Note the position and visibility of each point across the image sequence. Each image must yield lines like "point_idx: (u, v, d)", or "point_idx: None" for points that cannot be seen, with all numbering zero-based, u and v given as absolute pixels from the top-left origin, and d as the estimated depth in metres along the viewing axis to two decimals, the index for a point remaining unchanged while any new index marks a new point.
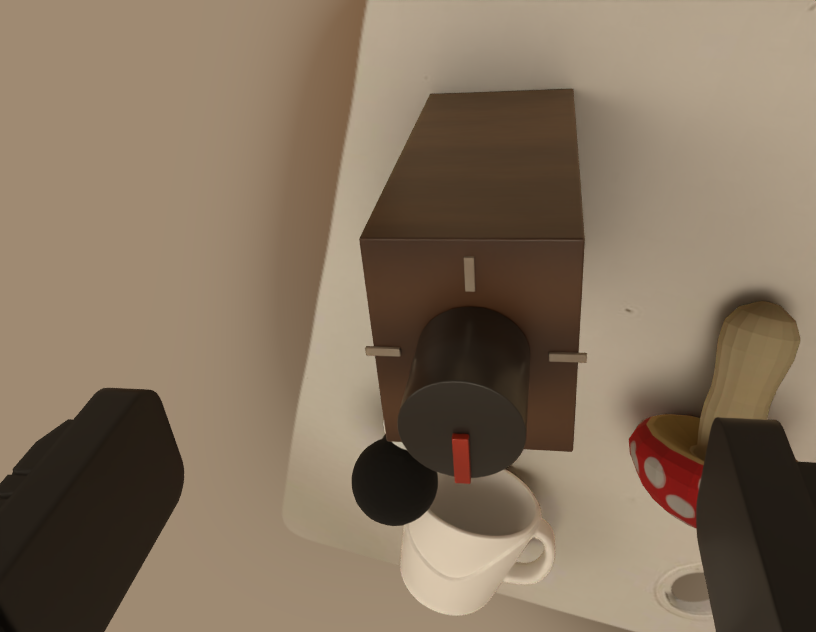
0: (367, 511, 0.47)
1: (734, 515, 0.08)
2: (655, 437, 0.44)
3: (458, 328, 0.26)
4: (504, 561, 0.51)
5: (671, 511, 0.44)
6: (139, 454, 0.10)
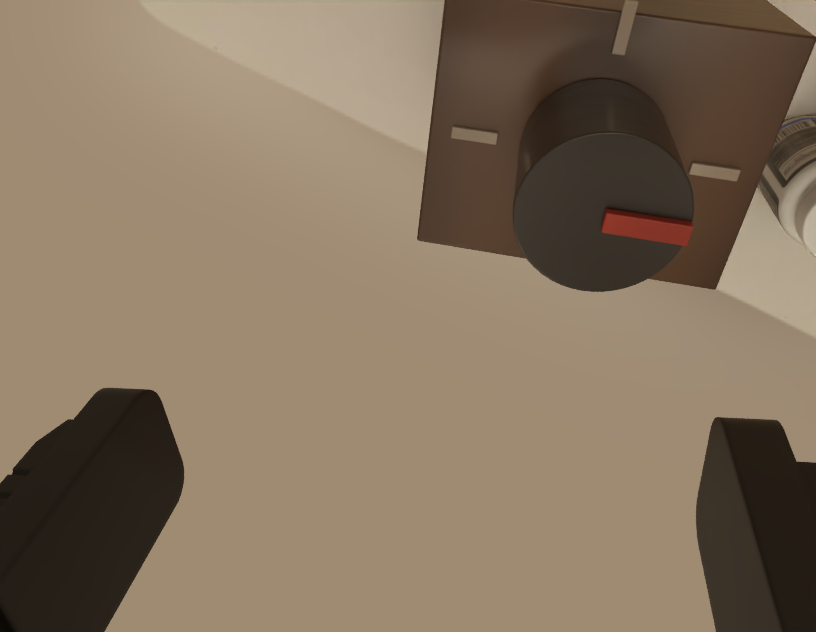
0: None
1: (734, 515, 0.08)
2: None
3: None
4: None
5: None
6: (139, 454, 0.10)
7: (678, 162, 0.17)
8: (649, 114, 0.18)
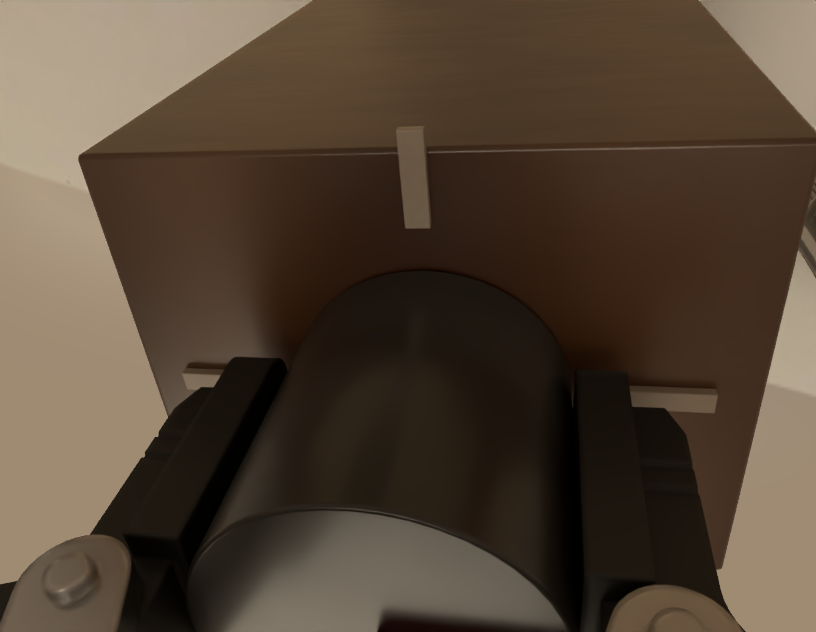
0: None
1: (577, 451, 0.09)
2: None
3: None
4: None
5: None
6: None
7: (502, 551, 0.07)
8: (468, 374, 0.08)
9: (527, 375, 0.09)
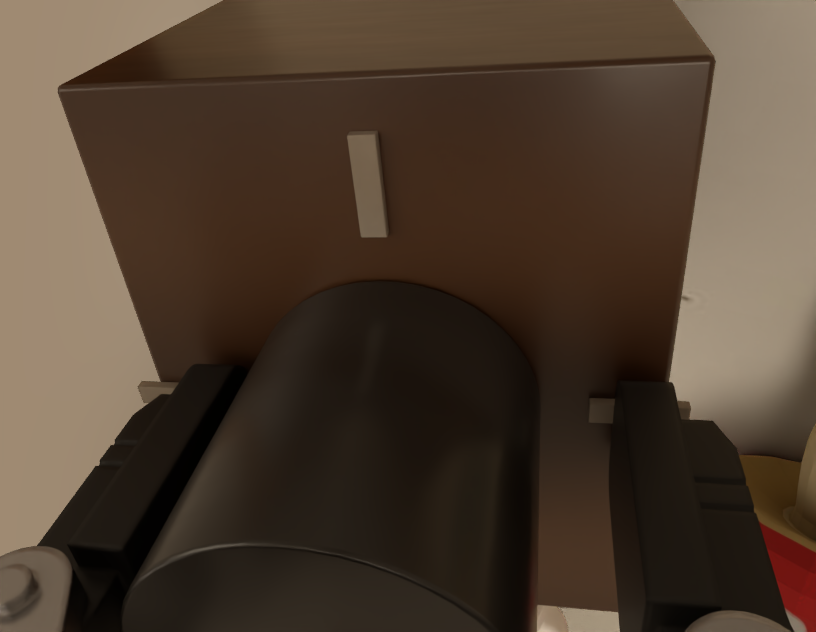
0: None
1: (623, 466, 0.09)
2: None
3: None
4: None
5: None
6: None
7: (441, 586, 0.06)
8: (416, 391, 0.08)
9: (482, 389, 0.09)
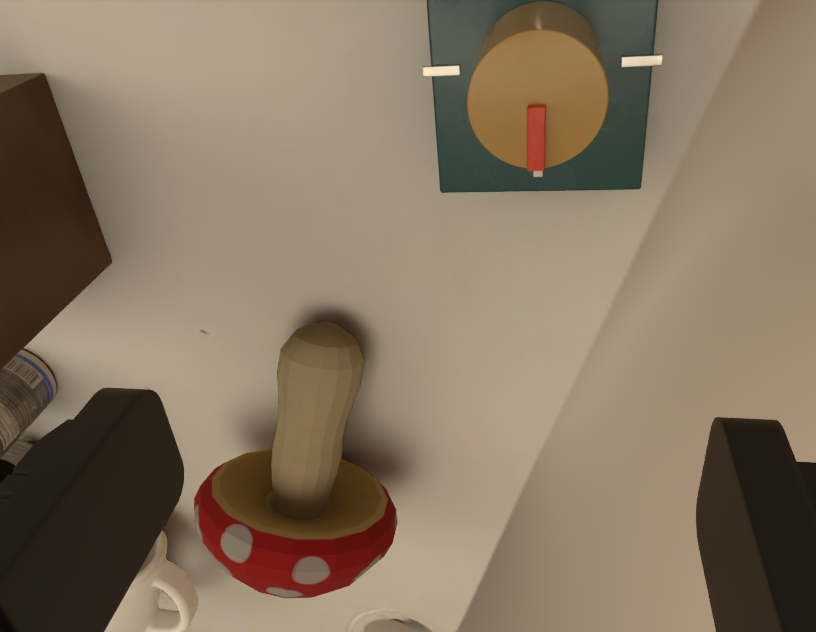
0: None
1: (734, 515, 0.08)
2: (211, 481, 0.38)
3: None
4: None
5: None
6: (139, 454, 0.10)
7: None
8: None
9: None
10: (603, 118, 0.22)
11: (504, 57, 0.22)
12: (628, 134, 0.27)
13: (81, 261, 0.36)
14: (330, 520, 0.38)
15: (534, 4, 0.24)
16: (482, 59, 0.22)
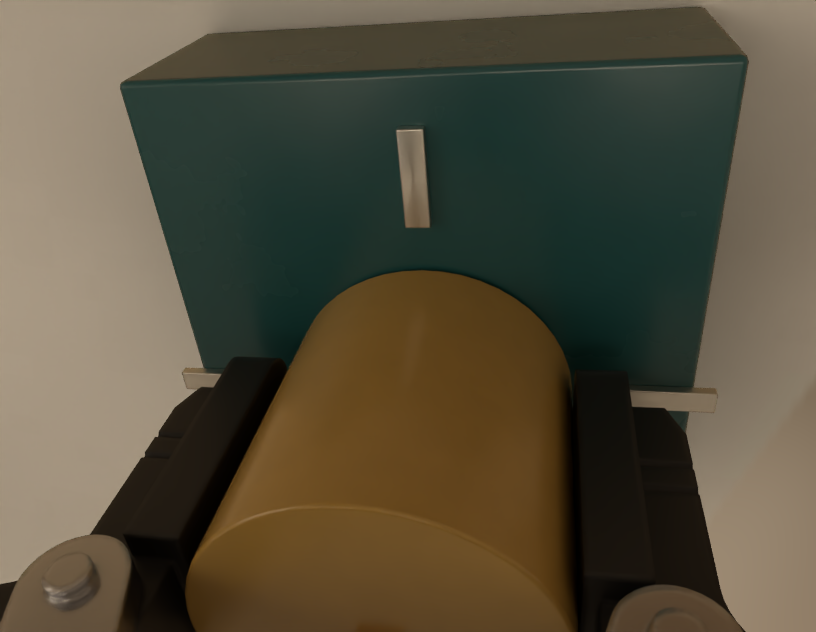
0: None
1: (576, 450, 0.09)
2: None
3: None
4: None
5: None
6: None
7: None
8: None
9: None
10: None
11: (265, 551, 0.07)
12: None
13: None
14: None
15: (404, 288, 0.10)
16: (206, 544, 0.07)
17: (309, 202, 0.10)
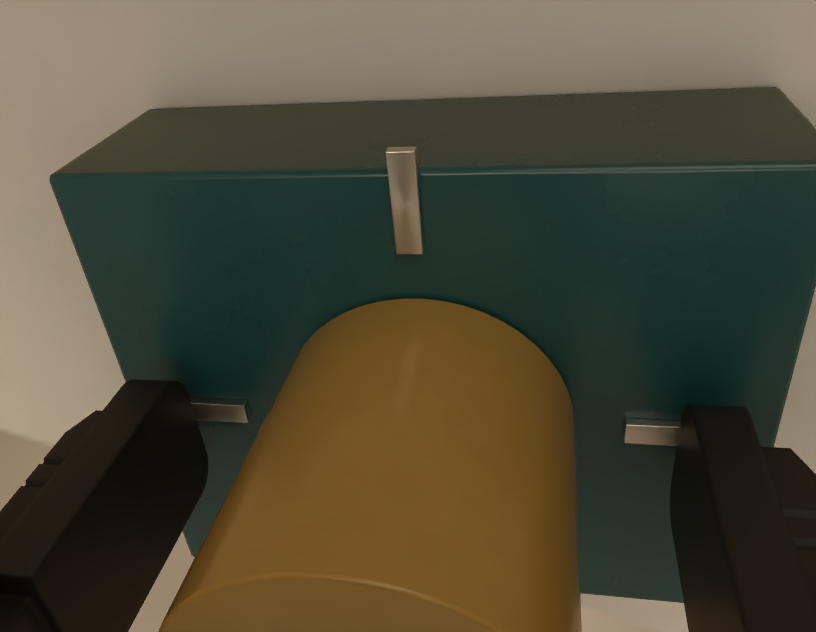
0: None
1: (700, 497, 0.08)
2: None
3: None
4: None
5: None
6: (167, 444, 0.10)
7: None
8: None
9: None
10: None
11: (229, 624, 0.07)
12: None
13: None
14: None
15: (382, 320, 0.09)
16: (168, 618, 0.07)
17: (658, 339, 0.09)
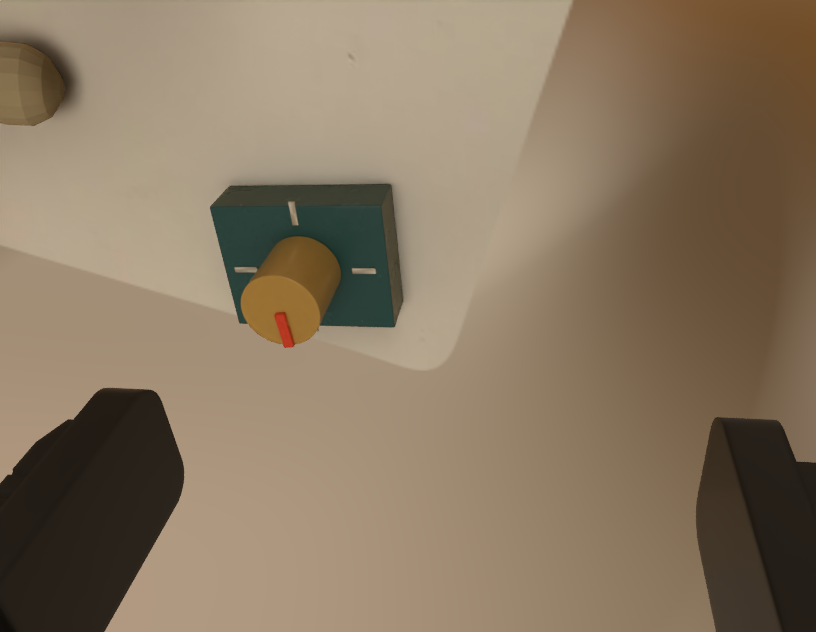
0: None
1: (733, 515, 0.08)
2: None
3: None
4: None
5: None
6: (139, 454, 0.10)
7: None
8: None
9: None
10: (319, 318, 0.38)
11: (255, 289, 0.37)
12: None
13: None
14: None
15: (289, 240, 0.40)
16: (244, 290, 0.38)
17: (354, 245, 0.40)
